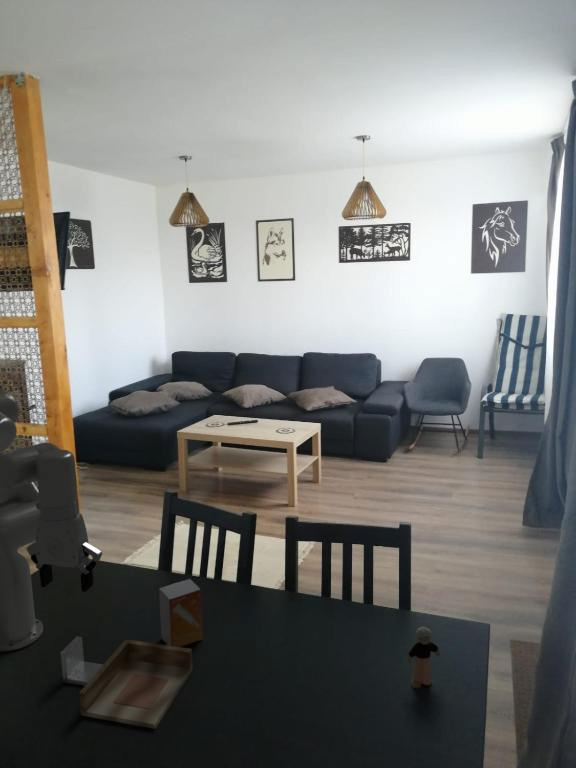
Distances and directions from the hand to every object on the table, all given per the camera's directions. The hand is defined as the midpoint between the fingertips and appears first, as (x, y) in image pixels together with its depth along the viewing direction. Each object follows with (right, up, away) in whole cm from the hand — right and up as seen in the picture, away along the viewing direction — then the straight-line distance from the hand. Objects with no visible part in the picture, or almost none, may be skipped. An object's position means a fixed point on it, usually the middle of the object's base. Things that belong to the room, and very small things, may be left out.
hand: (67, 586), depth 128 cm
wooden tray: (+16, -21, -3) cm, 27 cm away
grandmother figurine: (+75, -20, -1) cm, 78 cm away
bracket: (+3, -20, +3) cm, 21 cm away
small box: (+22, -18, +15) cm, 32 cm away
